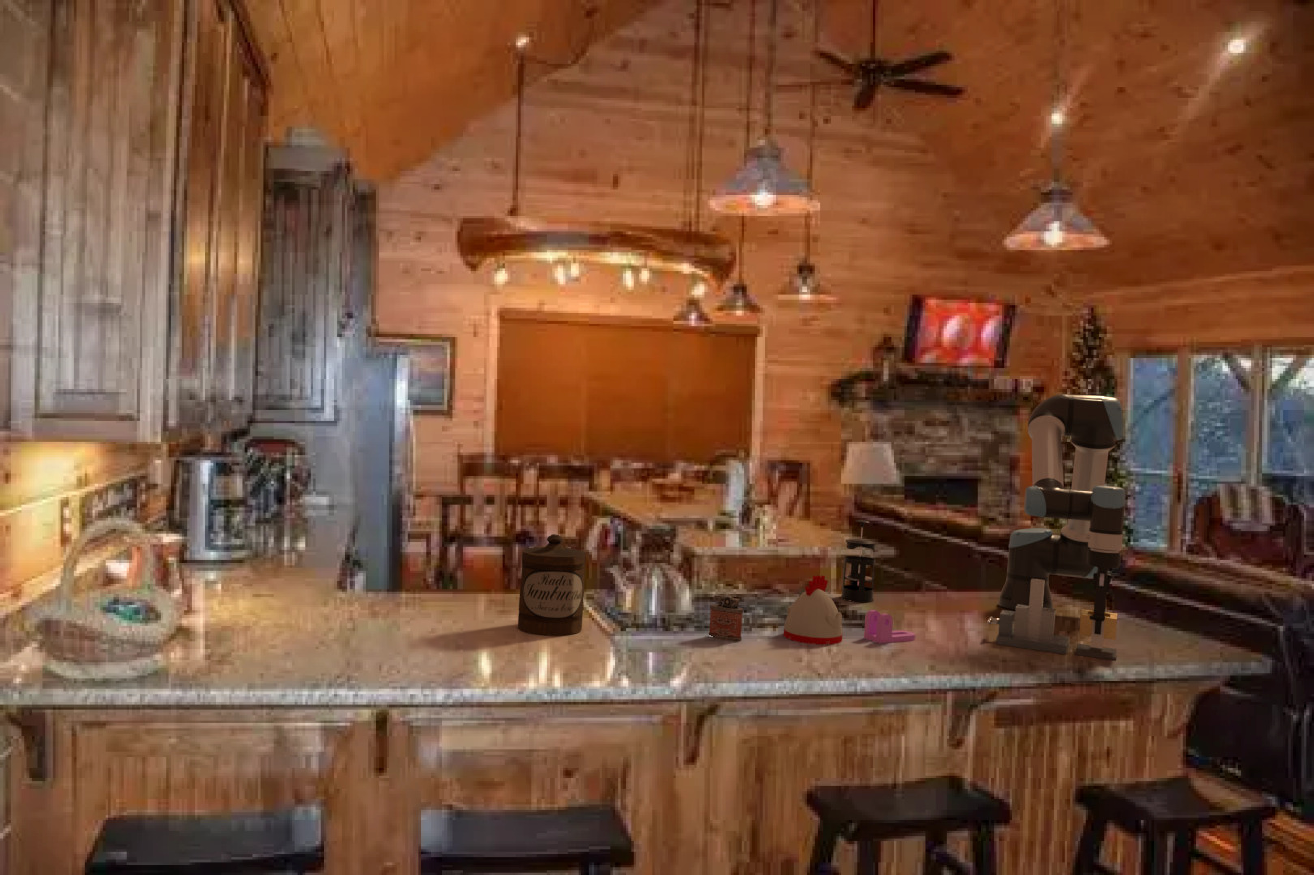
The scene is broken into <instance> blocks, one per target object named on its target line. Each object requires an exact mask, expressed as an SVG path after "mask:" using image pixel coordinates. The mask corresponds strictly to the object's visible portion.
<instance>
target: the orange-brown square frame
mask: <svg viewBox="0 0 1314 875" xmlns="http://www.w3.org/2000/svg"><path fill="white" fill-rule="evenodd" d="M1093 614H1094V610H1091V609H1081V613H1080V620H1079V622H1080V623H1079V631H1078V634H1079V636H1083V637H1090V638H1091V632H1092V620H1091V619H1090V616H1092V617H1093ZM1097 614H1098V613H1097ZM1104 621H1105V624H1104V636H1103V639H1107V640H1114V641H1115V640H1116V637H1117V636H1116V635H1117V627H1118V626H1117V622H1118V613H1113V612H1109V611H1108V612H1105V620H1104Z"/></svg>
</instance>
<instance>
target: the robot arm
mask: <svg viewBox="0 0 1314 875" xmlns="http://www.w3.org/2000/svg"><path fill="white" fill-rule="evenodd" d="M1121 404H1122V403H1121V402H1120V400H1119V399H1118V398H1116V397H1111V396H1104V395H1085V394H1083V395H1082V394H1066V393H1062V394H1055V395H1052V396H1050V397H1048V398H1046V399H1044V400H1042V401H1041V402H1040V403H1039V404H1038V405H1036V406H1035V408H1034V409H1033V411H1032V412H1031V414H1030V416H1029V419H1028V421H1027V433H1028V436H1029V438H1030V439H1031V457H1032V458H1031V459H1032V460H1031V462H1032V463H1031V469H1032V472H1031V474H1032V486H1027V487H1026V488H1025V493H1024V505H1023V506H1024V507H1023V509H1024V513H1025V514H1026V515H1027V516H1031V517H1032V516H1033V517H1039V518H1045V519H1046V518H1047V519H1048V518H1049V519H1063V520H1067V524H1066V525H1064V526H1063V527H1062V528H1061V529H1060V534H1054V532H1053V530H1052V529H1051V528H1040V527H1038V528H1022V529H1020V528H1019V529H1017V530H1013V531H1012V532H1011V533H1010V536H1009V542H1008V543H1009V544H1008V546H1007V547H1008V560H1007V570H1006V580H1005V583H1004V585H1003V586H1002V590H1001V592H1000V593H999V596H998V606H1000V607H1002V608H1005V609H1008V610H1012V611H1015V609H1016V606H1017V604H1019V605H1027V606H1029V599H1030V586H1031V579H1040V580H1045V583H1044V596H1043V608H1050V609H1054V602H1053V601H1054V600H1053V598H1052V597H1053V596H1052V594H1051V589H1050V586H1049V577H1050V575H1055V576H1056V575H1057V576H1062V577H1063V576H1064V577H1075V578H1082V579H1092V581H1093V590H1092V591H1093V593H1094V601H1093V602H1094V604H1093V611H1094V614H1093V617H1092V616H1090V619H1091V620H1092V632H1091V637H1090V643H1089V645H1090V647H1096V648H1103V647H1104V638H1103V636H1104V624H1105V621H1104V620H1105V612H1108V613H1109V610H1107V609H1106V608H1107V606H1106V602H1107V594H1109V593H1110V592H1109V590H1110V584H1111V581H1112V574H1110V573H1109V569H1111V570H1115V569H1119V568H1120V567H1121V557H1122V556H1121V555H1122V554H1121V553H1120V551H1122V548H1123V538H1124V537H1123V536H1124V534H1123V532H1124V531H1123V528H1124V527H1123V526H1124V518H1125V508H1126V504H1127V501H1126V490H1125V489H1124V488H1123V487H1118V486H1110V485H1109V486H1108V485H1105V484H1106V475H1107V469H1108V468H1107V466H1108V459H1109V458H1108V457H1109V452H1110V451H1111V450H1112V449H1114V448H1115V447H1116V441H1121V440H1122V439H1123V436H1124V418H1123V409H1122V405H1121ZM1063 437H1070V443H1071V444H1072V445H1073V447H1075V453H1074V461H1073V462H1074V463H1073V471H1072V480H1071V489H1068V488H1064V467H1063V465H1064V464H1063V449H1062V448H1063V446H1062V445H1063V444H1062V442H1063V441H1062V438H1063ZM1097 613H1098V614H1097Z"/></svg>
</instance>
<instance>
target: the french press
mask: <svg viewBox="0 0 1314 875" xmlns="http://www.w3.org/2000/svg"><path fill="white" fill-rule="evenodd" d="M855 522H856V523H860V530H861V531H860V539H859V538H853V539H845V542H846V549H849V550H854V549H856V548H859V555H845V556H844V557H843V558H844V559H843V572H842V586H841V594H840V598H841V599H842V600H844V599H845V600H844V601H848V600H851V601H850V602H853V601H854V603H871V602H874V588H875V573H876V560H877V559H875V558H873V557H868V556H862V548H866V549H869V550H871V551H875V550H876V545H877V544H878V543H877V542H876V541H874V540H873V541H872V540H868V539H863V530H864V527H865V524H871V522H870V521H868V520H863V519H858V520H855ZM847 564H850V566H851V567H850V574H846V566H847ZM867 566H872V577H871V576H867V575H866V573H867ZM846 580H847V581H850V582H849V584H846V585H845V581H846ZM866 582H867V583H868V582H869V583H870V582H871V587H869V586H866Z"/></svg>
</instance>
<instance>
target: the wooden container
mask: <svg viewBox="0 0 1314 875" xmlns="http://www.w3.org/2000/svg"><path fill="white" fill-rule="evenodd" d="M546 541H547V542H548V543H547V544H546V546H533V547H527V548H524V549H522V553H521V554H522V555H521V574H520V576H521V577H520V587H519V599H518V618H517V628H518V629H519V630H520V631H522V632H524V633H527V634H531V635H538V636H539V635H540V636H552V637H553V636H554V637H556V636H558V637H559V636H560V637H562V636H570V635H573V634H577V633H580V632H581V631H582V629H583V614H584V599H585V597H584V595H585V572H586V571H585V568H586V567H585V565H586V563H585V562H586V552H585V551H583V550H580V549H577V548H571V547H570V548H569V547H563V545H562V541H563V539H562V536H560V535H559V534H555V533H554V534H553V533H552V534H551V535H549V536H547V538H546Z"/></svg>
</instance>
